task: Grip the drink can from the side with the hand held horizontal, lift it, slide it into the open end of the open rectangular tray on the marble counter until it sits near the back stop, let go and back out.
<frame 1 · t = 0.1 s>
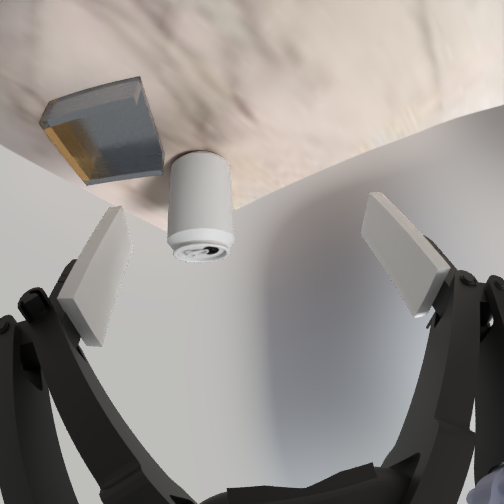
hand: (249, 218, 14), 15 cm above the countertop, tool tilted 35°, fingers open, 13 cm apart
open rectangular tray: (109, 127, 25), on the countertop
can: (200, 163, 34), on the countertop
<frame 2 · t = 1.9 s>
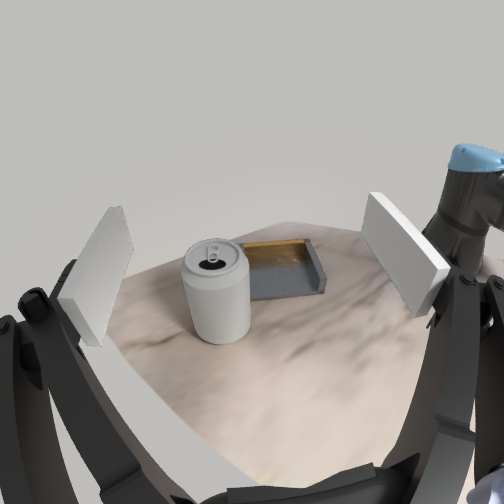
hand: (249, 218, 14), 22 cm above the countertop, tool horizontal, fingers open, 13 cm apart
open rectangular tray: (278, 275, 45), on the countertop
can: (223, 326, 37), on the countertop
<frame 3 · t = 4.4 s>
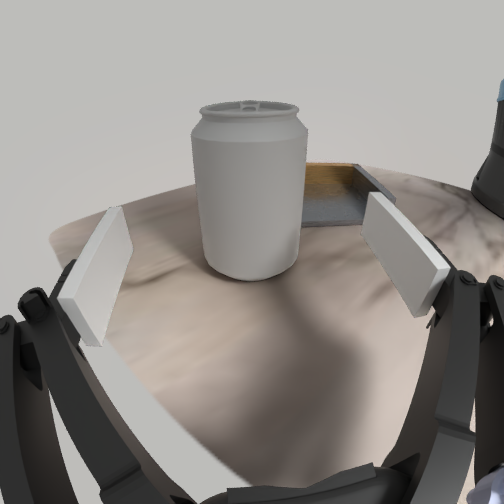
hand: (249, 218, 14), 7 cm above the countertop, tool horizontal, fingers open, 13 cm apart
open rectangular tray: (324, 202, 31), on the countertop
can: (251, 258, 23), on the countertop
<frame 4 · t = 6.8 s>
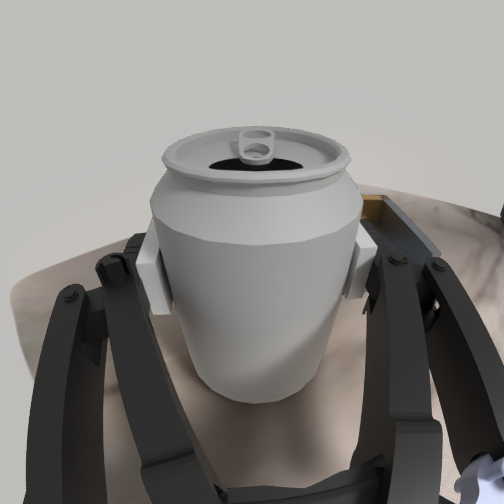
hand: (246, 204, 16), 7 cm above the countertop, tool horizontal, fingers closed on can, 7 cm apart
open rectangular tray: (348, 251, 24), on the countertop
can: (256, 354, 16), on the countertop, touching gripper
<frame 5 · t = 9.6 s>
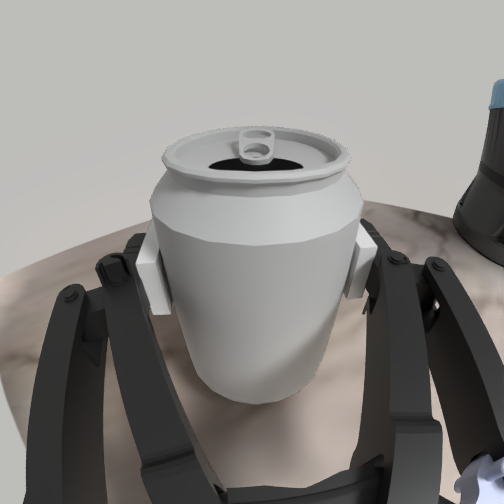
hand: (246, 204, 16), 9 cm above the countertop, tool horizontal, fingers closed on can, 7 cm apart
can: (256, 354, 16), point 2 cm above the countertop, touching gripper
when the fingers open (9 cm above the countertop, at t = 12.9 s): can drops 1 cm, resting on open rectangular tray.
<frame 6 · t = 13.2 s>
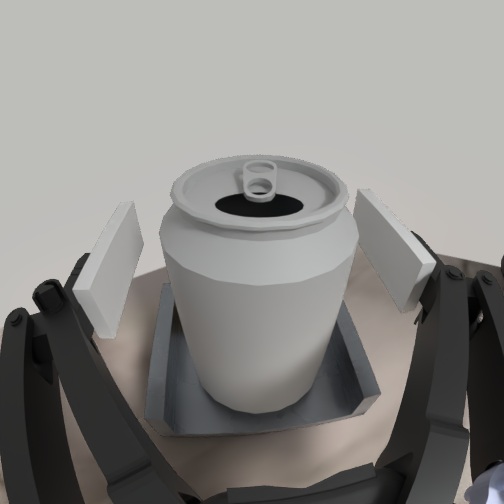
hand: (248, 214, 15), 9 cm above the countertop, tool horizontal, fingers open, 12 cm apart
open rectangular tray: (255, 362, 18), on the countertop
can: (256, 366, 17), resting on open rectangular tray
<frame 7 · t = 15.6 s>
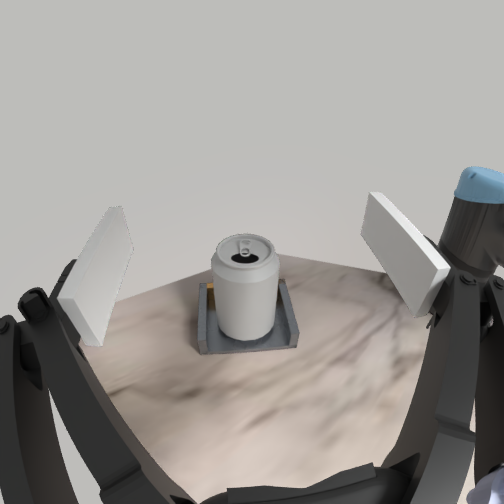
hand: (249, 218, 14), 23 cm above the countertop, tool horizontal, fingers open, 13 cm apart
open rectangular tray: (245, 322, 38), on the countertop
can: (245, 323, 37), resting on open rectangular tray
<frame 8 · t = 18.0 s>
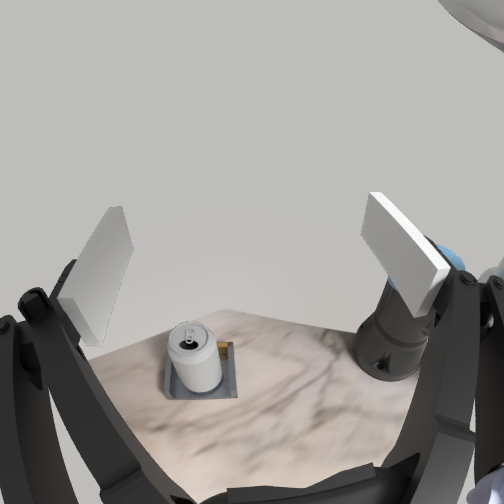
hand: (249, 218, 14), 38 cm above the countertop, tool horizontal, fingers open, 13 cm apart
open rectangular tray: (202, 375, 47), on the countertop
can: (201, 376, 46), resting on open rectangular tray
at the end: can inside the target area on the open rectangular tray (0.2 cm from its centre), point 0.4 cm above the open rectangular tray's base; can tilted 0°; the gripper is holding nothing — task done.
